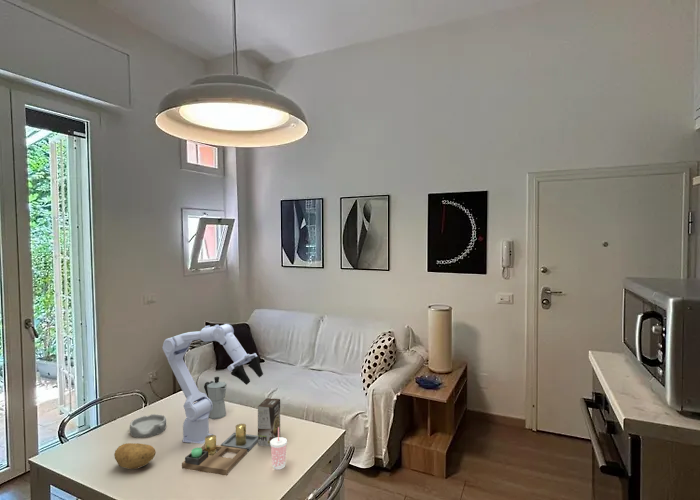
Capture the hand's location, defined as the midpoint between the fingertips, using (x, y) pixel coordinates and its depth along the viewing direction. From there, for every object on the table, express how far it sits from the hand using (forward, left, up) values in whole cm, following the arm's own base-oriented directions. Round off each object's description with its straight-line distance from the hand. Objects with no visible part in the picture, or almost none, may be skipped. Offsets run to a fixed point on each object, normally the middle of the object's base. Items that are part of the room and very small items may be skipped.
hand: (255, 379), depth 150 cm
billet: (-9, +4, -28) cm, 29 cm away
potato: (-38, -19, -29) cm, 51 cm away
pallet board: (-12, -9, -28) cm, 32 cm away
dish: (-54, +5, -29) cm, 61 cm away
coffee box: (+1, +9, -29) cm, 30 cm away
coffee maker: (-35, +26, -29) cm, 52 cm away
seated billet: (-16, -6, -28) cm, 33 cm away
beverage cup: (+12, -6, -29) cm, 32 cm away
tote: (-9, +4, -28) cm, 30 cm away
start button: (-17, -13, -25) cm, 33 cm away
